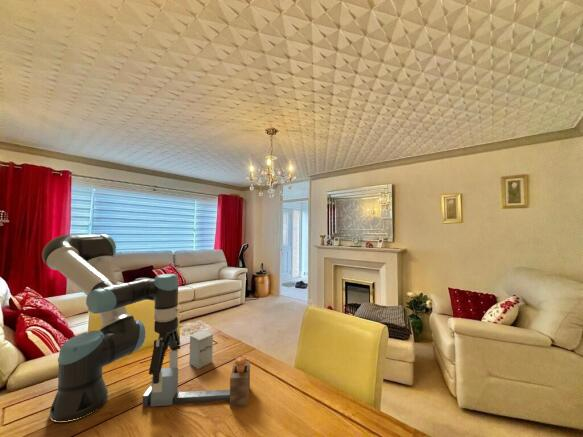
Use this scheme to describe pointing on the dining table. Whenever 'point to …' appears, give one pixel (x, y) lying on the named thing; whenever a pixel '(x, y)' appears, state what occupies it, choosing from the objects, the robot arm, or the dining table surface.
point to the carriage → (166, 388)
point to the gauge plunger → (240, 364)
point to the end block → (239, 386)
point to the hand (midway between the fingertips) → (166, 378)
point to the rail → (192, 396)
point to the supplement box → (201, 349)
